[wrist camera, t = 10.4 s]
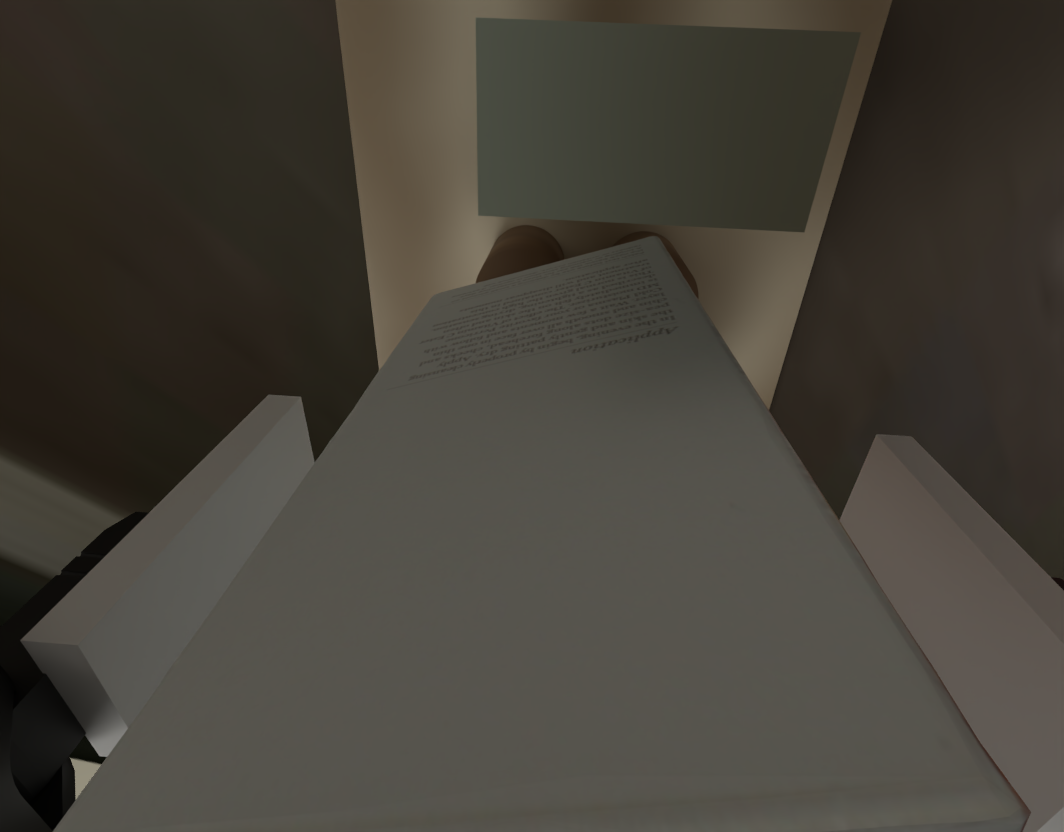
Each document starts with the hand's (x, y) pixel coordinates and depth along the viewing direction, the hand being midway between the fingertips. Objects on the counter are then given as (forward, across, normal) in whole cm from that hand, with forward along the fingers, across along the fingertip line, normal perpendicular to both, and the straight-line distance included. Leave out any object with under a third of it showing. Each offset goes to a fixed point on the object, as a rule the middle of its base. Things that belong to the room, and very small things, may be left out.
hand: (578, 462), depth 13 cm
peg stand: (+8, 0, 0) cm, 8 cm away
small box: (+4, 0, 0) cm, 4 cm away
